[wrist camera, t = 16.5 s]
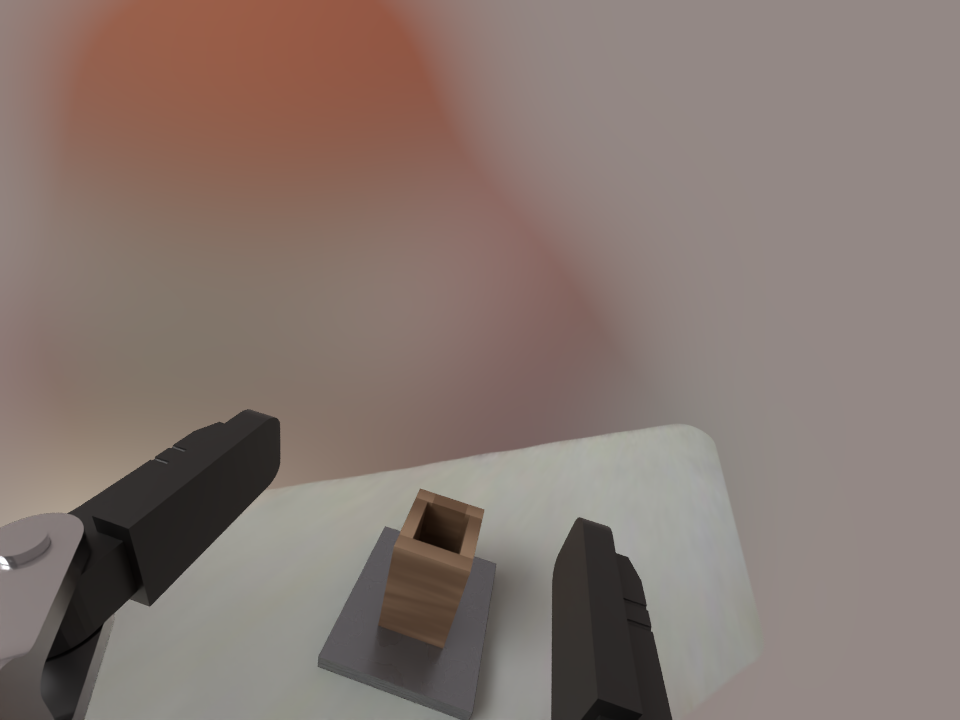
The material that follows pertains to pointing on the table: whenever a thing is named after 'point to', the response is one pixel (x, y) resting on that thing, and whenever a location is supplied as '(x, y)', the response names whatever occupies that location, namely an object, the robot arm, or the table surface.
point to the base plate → (411, 640)
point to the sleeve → (430, 567)
